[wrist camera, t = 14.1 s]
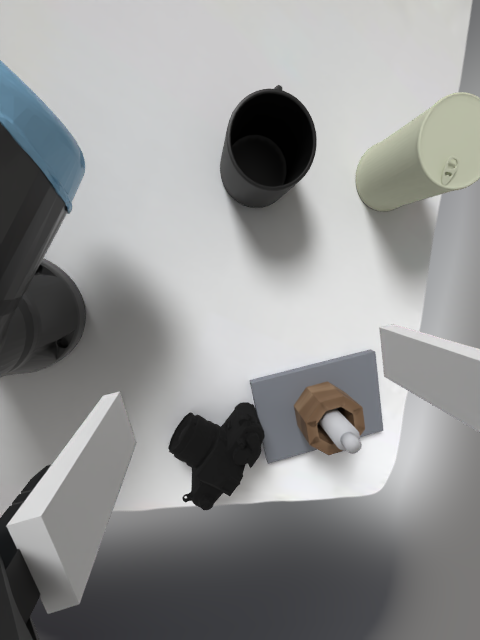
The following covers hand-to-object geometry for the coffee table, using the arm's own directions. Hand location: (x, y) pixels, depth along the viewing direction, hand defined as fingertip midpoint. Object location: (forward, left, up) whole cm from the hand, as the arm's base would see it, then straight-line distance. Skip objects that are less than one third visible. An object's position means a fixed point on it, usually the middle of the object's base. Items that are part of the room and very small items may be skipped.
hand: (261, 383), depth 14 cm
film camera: (-6, -19, -27) cm, 33 cm away
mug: (+9, +18, -27) cm, 34 cm away
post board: (+12, -19, -27) cm, 35 cm away
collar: (+12, -19, -26) cm, 34 cm away
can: (+27, +13, -27) cm, 40 cm away
